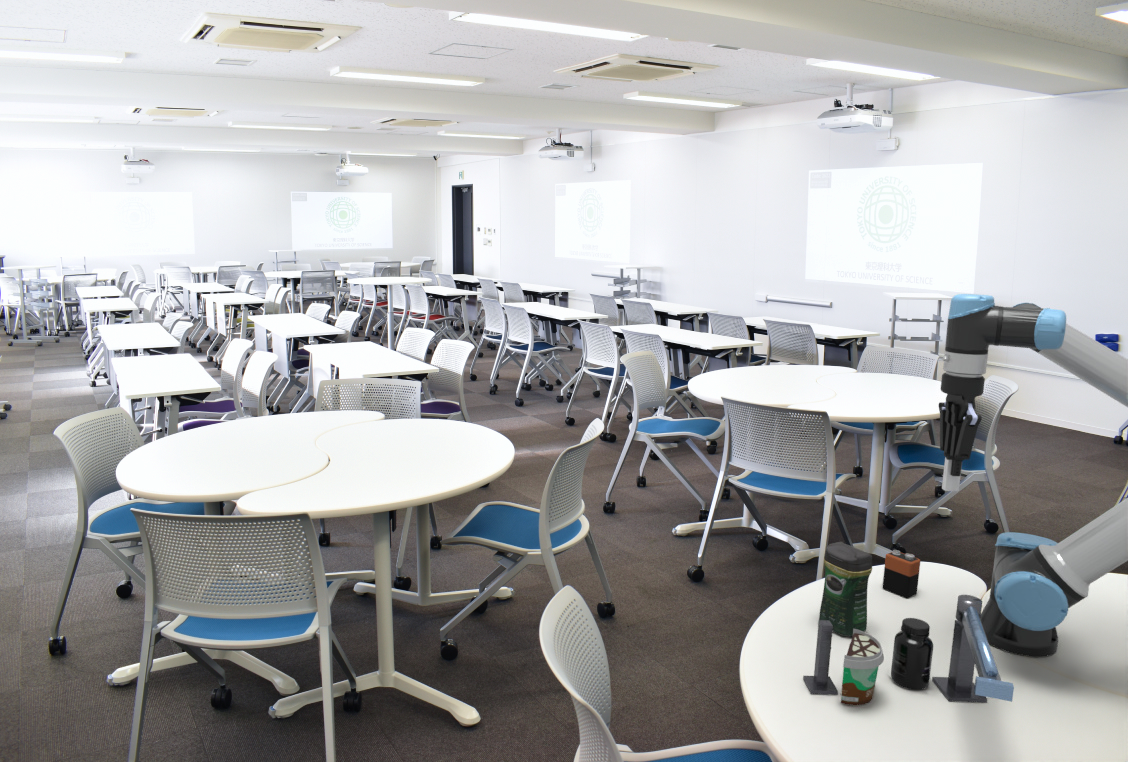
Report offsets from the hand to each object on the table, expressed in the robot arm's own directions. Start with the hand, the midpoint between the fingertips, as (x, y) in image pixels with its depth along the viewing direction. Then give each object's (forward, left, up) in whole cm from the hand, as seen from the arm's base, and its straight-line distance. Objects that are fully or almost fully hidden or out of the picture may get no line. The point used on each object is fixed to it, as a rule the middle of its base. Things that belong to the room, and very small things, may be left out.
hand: (950, 489), depth 158 cm
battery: (-4, -27, -35) cm, 44 cm away
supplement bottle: (+10, +13, -35) cm, 38 cm away
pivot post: (+2, +16, -34) cm, 38 cm away
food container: (+21, +18, -35) cm, 44 cm away
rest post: (+28, +16, -34) cm, 47 cm away
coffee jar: (+16, -8, -35) cm, 39 cm away
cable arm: (+6, +28, -20) cm, 35 cm away
